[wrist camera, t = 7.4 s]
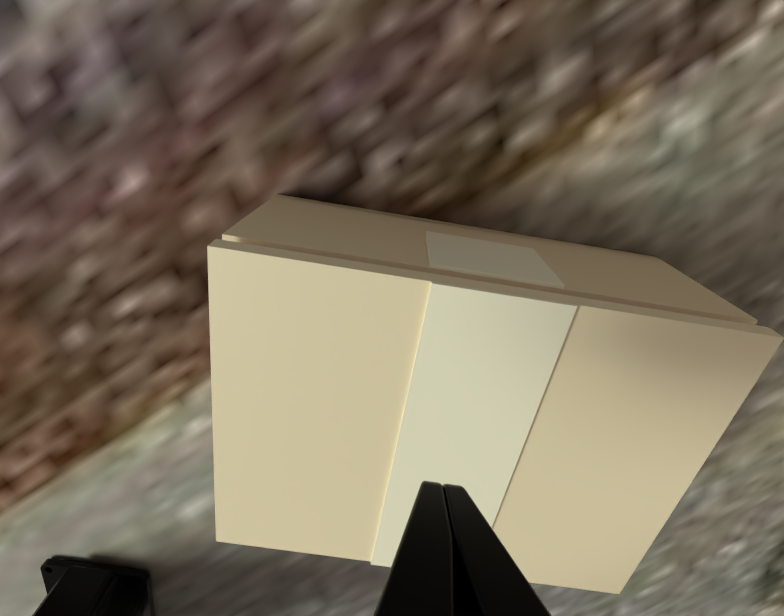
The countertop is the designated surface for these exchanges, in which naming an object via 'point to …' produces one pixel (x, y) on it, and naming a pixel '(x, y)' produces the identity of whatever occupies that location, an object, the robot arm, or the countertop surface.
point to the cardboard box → (478, 255)
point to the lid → (458, 410)
